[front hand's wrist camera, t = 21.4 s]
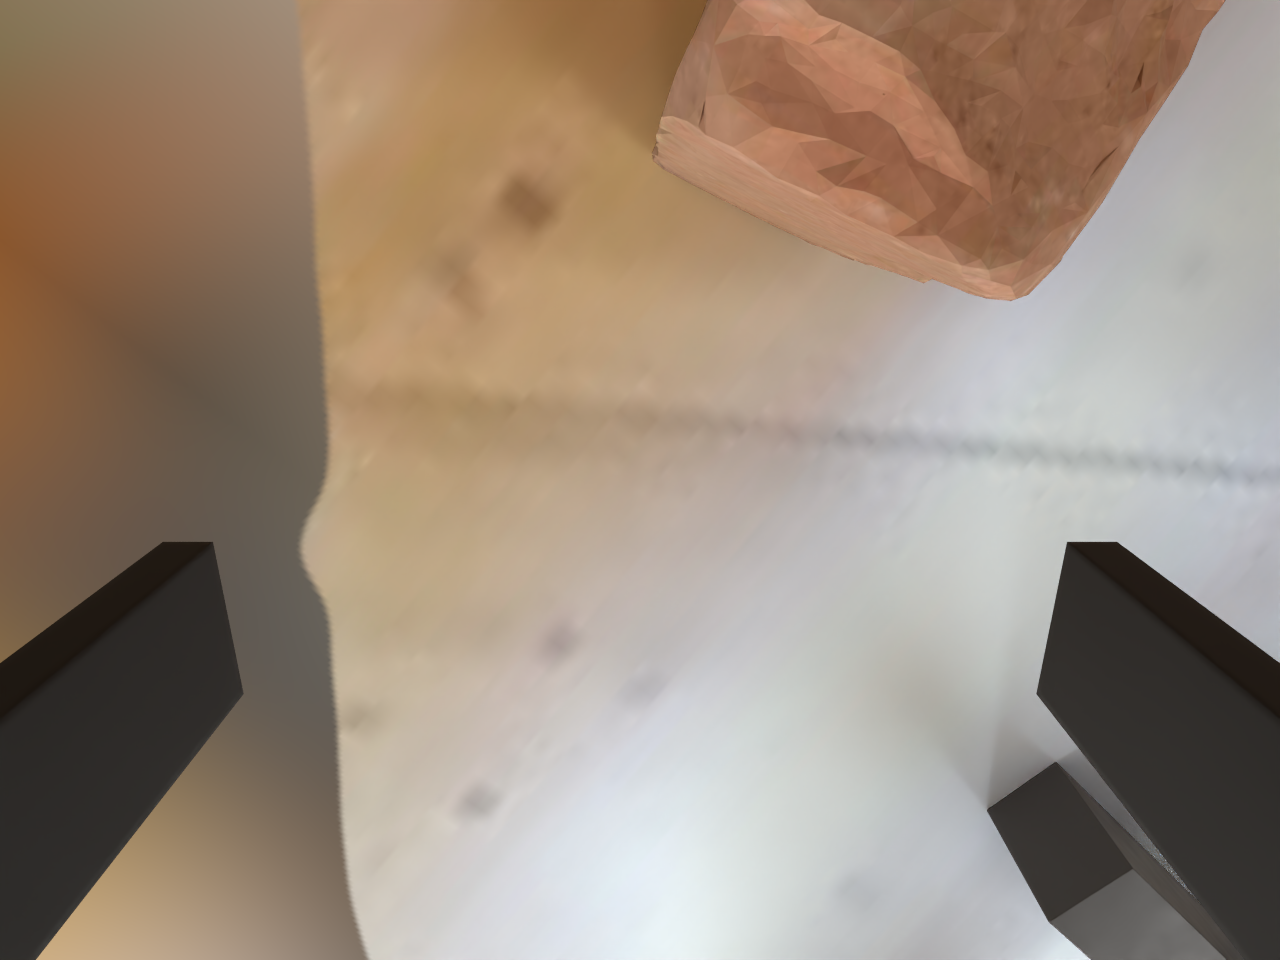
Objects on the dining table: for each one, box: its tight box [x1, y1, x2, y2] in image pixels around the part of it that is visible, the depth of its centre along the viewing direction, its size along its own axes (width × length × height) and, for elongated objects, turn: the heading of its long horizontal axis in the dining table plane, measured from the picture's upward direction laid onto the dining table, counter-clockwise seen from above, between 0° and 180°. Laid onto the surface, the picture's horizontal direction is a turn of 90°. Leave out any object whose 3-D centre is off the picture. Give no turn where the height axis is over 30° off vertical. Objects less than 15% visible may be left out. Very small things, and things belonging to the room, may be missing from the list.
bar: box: [987, 762, 1244, 960], centre depth 54 cm, size 27×6×9 cm, turn 45°
